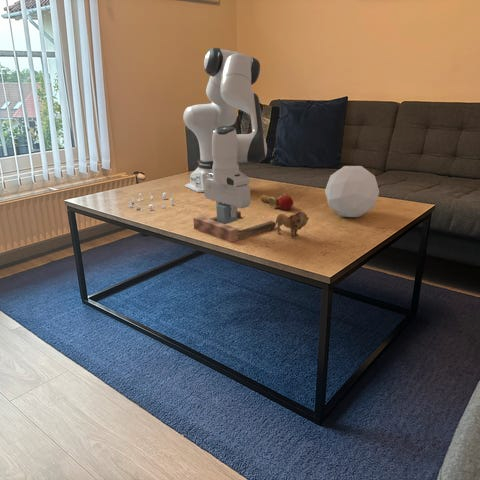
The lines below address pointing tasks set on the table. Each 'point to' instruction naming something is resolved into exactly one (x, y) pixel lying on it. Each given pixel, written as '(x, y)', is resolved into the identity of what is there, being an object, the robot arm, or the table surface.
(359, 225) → the table surface
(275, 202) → the kendama
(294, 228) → the lion figurine
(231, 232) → the stop channel
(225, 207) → the block
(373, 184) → the geometric polyhedron
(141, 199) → the game piece set
